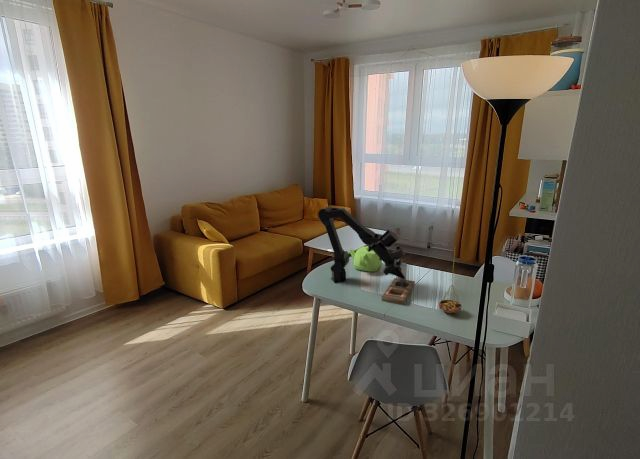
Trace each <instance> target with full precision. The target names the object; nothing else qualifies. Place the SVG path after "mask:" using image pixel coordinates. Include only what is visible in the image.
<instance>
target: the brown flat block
mask: <svg viewBox="0 0 640 459" xmlns="http://www.w3.org/2000/svg"><path fill="white" fill-rule="evenodd" d="M397 284H398V277H394V279H393V280H392V281H391V283H390V284H389V285H388V287H387V288H386V290H384V292H383V294H381V301H382V302H387V303H391V304H396V305H401V306H404V305H405V303H406V301H407V300H408V298H409V296H410V294H411V293H412V291H413V289H414V288H415V285H416V284H415V281H414V280H410V279H409V280H408V279H406V288H405V287H399V286H397Z"/></svg>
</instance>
